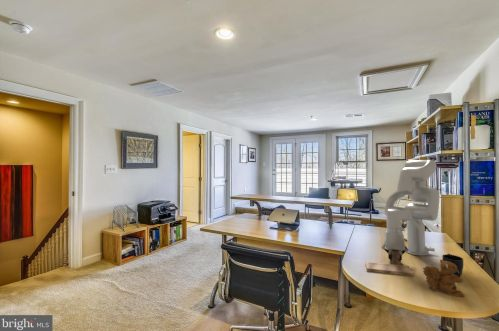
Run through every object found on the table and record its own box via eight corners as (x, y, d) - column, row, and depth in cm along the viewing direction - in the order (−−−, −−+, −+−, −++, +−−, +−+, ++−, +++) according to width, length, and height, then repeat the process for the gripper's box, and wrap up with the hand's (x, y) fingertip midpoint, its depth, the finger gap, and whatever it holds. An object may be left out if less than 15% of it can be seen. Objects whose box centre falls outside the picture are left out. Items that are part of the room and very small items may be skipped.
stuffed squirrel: (466, 298, 104) (465, 267, 104) (426, 291, 110) (425, 263, 110) (458, 287, 113) (457, 259, 113) (421, 281, 119) (421, 255, 119)
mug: (459, 271, 128) (459, 253, 128) (465, 280, 118) (465, 261, 118) (440, 268, 132) (439, 251, 132) (444, 277, 122) (443, 258, 122)
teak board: (409, 268, 133) (408, 266, 133) (413, 276, 125) (413, 273, 125) (365, 264, 141) (365, 261, 141) (367, 271, 132) (366, 268, 132)
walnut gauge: (398, 260, 144) (397, 249, 144) (402, 268, 134) (402, 255, 134) (390, 260, 145) (390, 248, 145) (394, 267, 136) (394, 254, 136)
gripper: (408, 229, 143) (409, 259, 143) (377, 227, 149) (378, 257, 149) (412, 232, 136) (413, 264, 136) (379, 230, 142) (380, 261, 142)
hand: (395, 260), depth 143 cm, fingers closed on walnut gauge, 4 cm apart
